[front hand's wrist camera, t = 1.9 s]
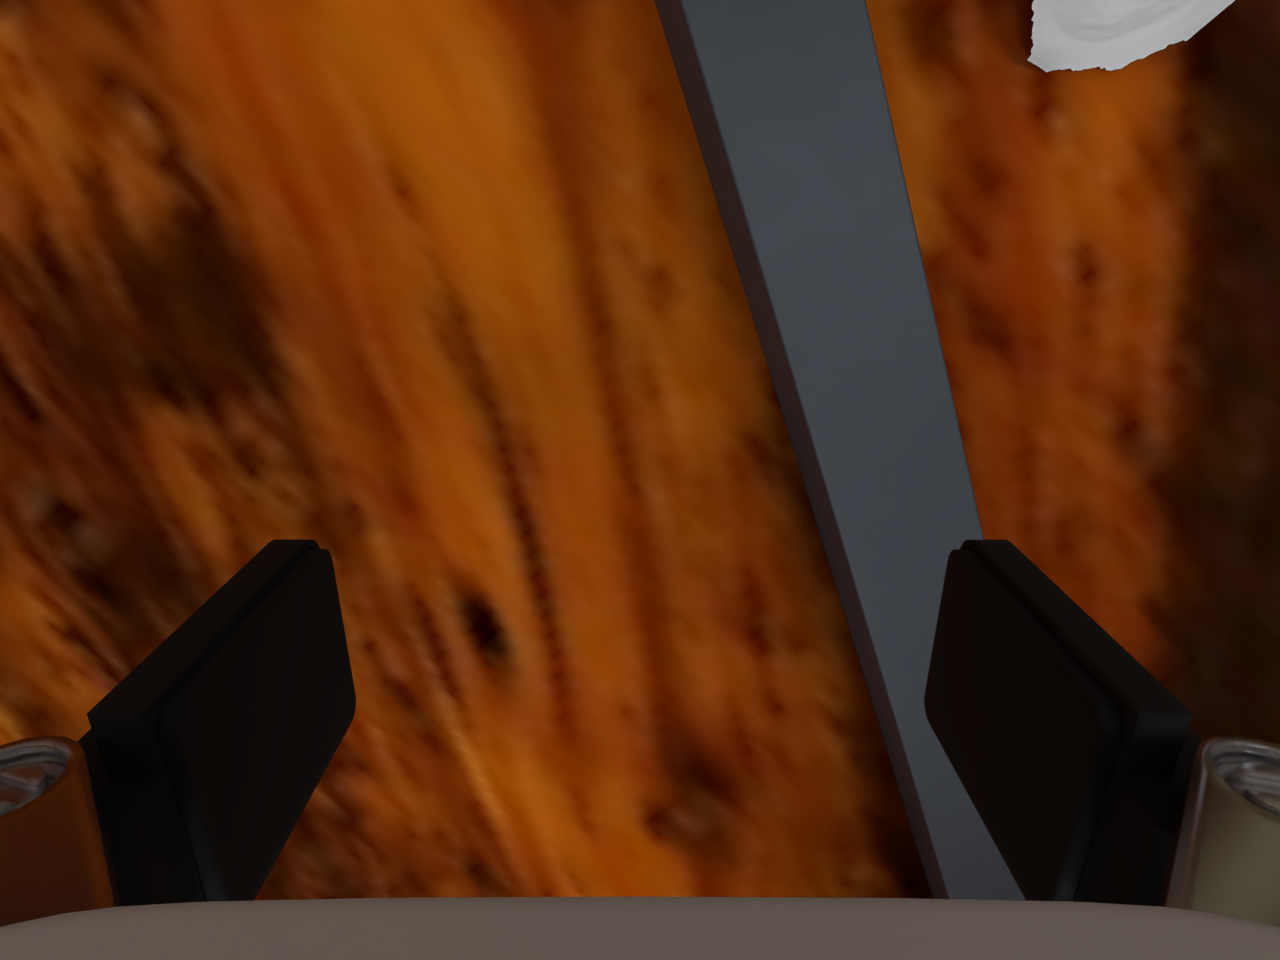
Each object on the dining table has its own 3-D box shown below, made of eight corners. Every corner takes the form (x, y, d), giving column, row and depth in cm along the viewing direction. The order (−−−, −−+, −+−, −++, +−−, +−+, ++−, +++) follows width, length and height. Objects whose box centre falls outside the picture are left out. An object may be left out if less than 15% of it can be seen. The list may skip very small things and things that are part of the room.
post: (480, -560, 21) (425, -852, 15) (643, -646, 20) (651, -984, 14) (957, 977, 44) (1007, 1094, 38) (1038, 956, 43) (1101, 1072, 38)
